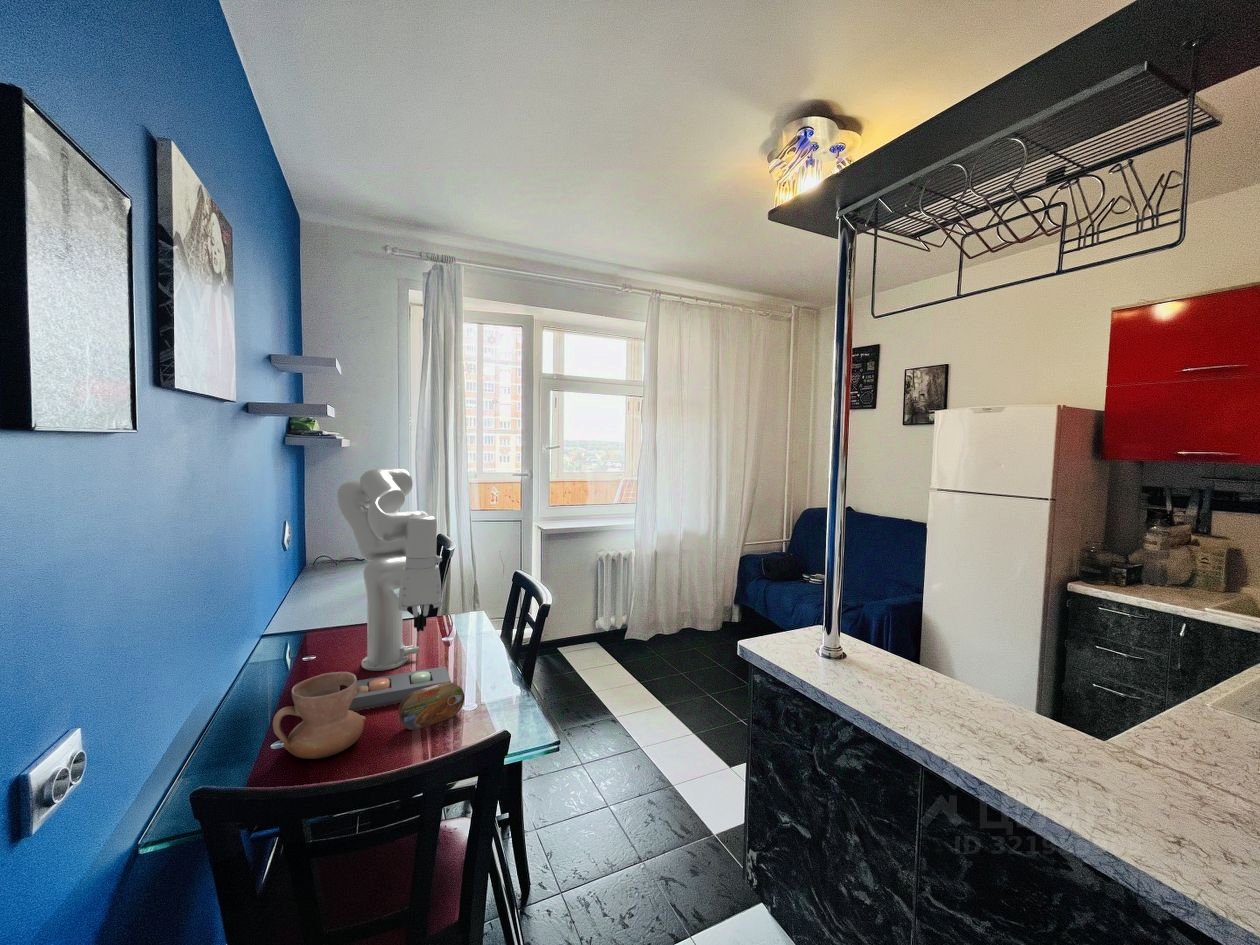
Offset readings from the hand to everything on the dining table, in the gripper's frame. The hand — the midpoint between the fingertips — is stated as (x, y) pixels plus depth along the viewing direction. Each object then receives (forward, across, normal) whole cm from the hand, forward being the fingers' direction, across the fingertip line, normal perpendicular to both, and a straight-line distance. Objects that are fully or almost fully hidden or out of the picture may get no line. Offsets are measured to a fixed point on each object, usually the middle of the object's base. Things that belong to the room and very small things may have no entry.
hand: (419, 629), depth 138 cm
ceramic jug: (+16, +21, +20) cm, 33 cm away
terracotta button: (+15, +10, +1) cm, 18 cm away
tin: (+16, -1, +18) cm, 24 cm away
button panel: (+17, +5, +1) cm, 17 cm away
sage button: (+15, 0, +1) cm, 15 cm away
